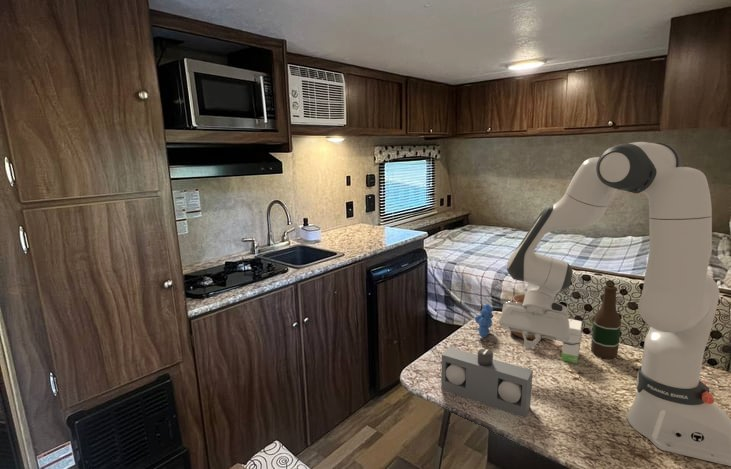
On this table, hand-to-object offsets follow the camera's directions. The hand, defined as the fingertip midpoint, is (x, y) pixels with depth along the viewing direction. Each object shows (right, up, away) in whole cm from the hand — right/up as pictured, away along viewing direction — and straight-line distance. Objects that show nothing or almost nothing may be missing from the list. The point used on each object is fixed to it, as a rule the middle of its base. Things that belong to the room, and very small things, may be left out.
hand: (528, 347), depth 118 cm
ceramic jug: (+12, -4, +31) cm, 33 cm away
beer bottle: (+32, -6, +15) cm, 35 cm away
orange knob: (-22, -9, -3) cm, 23 cm away
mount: (-16, -12, -8) cm, 21 cm away
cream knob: (-9, -10, -12) cm, 18 cm away
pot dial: (-16, -1, -10) cm, 19 cm away
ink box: (+20, -7, +13) cm, 25 cm away
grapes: (-5, -4, +31) cm, 31 cm away
